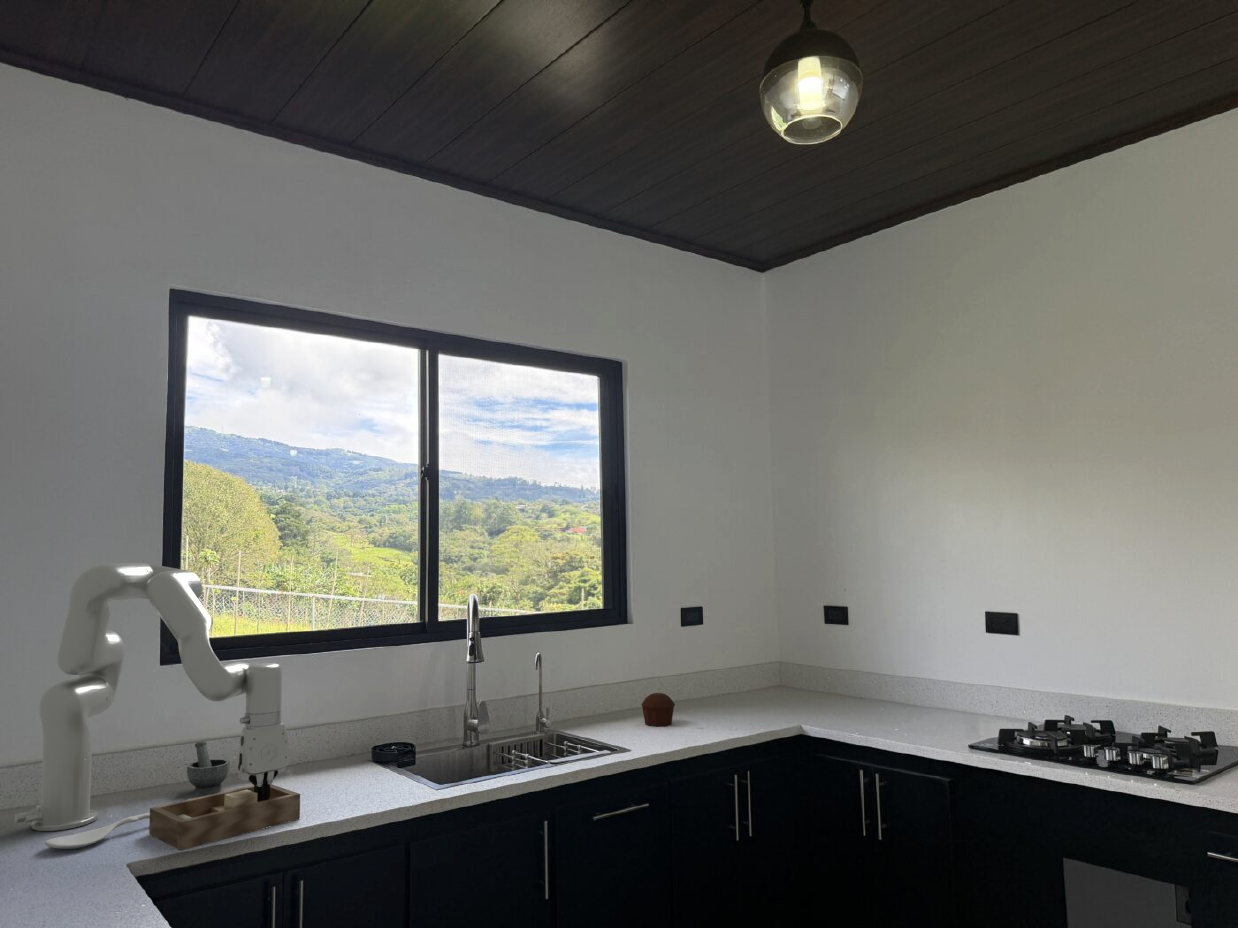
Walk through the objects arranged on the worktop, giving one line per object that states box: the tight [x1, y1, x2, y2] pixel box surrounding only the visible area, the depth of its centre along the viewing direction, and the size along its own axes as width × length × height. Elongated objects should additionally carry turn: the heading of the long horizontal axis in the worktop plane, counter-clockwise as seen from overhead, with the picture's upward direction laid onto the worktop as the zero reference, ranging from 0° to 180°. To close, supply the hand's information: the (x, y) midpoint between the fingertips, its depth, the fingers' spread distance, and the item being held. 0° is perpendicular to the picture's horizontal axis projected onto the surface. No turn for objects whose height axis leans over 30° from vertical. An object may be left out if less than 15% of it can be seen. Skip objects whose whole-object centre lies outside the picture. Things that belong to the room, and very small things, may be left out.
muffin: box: [640, 692, 676, 728], centre depth 295 cm, size 12×11×10 cm
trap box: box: [148, 783, 301, 851], centre depth 194 cm, size 26×16×6 cm, turn 138°
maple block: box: [224, 790, 257, 810], centre depth 194 cm, size 5×5×4 cm
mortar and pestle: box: [186, 740, 231, 796], centre depth 224 cm, size 11×9×12 cm
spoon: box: [44, 798, 190, 850], centre depth 191 cm, size 9×32×4 cm, turn 143°
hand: (261, 802), depth 198 cm, fingers closed
